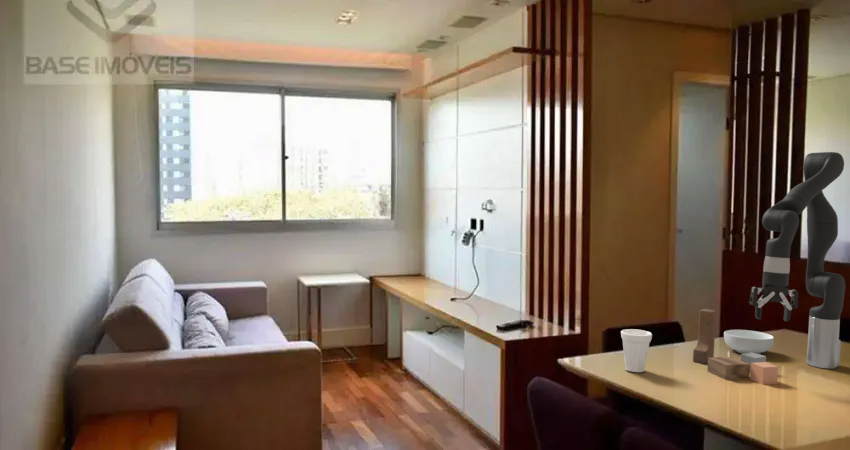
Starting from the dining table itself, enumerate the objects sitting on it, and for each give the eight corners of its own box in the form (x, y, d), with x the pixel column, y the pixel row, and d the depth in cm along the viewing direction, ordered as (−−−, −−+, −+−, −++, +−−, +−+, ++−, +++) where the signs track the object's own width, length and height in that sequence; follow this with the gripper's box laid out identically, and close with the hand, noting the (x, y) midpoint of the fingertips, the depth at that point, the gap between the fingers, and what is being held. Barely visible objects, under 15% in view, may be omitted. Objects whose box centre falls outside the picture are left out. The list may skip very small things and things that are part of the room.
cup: (655, 370, 218) (657, 332, 218) (642, 377, 211) (644, 337, 210) (627, 364, 225) (629, 327, 224) (614, 370, 218) (615, 332, 217)
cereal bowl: (774, 351, 249) (775, 333, 248) (770, 360, 235) (772, 341, 234) (726, 344, 258) (727, 326, 257) (720, 353, 244) (721, 334, 243)
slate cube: (750, 367, 225) (751, 352, 225) (765, 372, 220) (766, 356, 220) (740, 369, 223) (740, 354, 222) (754, 374, 218) (755, 357, 217)
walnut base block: (730, 371, 221) (731, 356, 221) (749, 379, 213) (749, 364, 212) (707, 372, 219) (708, 357, 219) (725, 380, 211) (725, 365, 210)
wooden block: (705, 364, 228) (708, 313, 227) (692, 361, 231) (694, 311, 230) (713, 359, 235) (716, 310, 234) (700, 356, 238) (703, 308, 237)
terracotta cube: (764, 378, 213) (765, 362, 213) (777, 383, 208) (778, 366, 207) (750, 379, 212) (751, 362, 211) (762, 384, 206) (763, 367, 206)
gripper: (793, 271, 215) (789, 319, 216) (749, 268, 216) (745, 316, 217) (804, 273, 208) (800, 323, 208) (758, 270, 209) (754, 320, 210)
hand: (772, 320), depth 213 cm, fingers open, 8 cm apart
